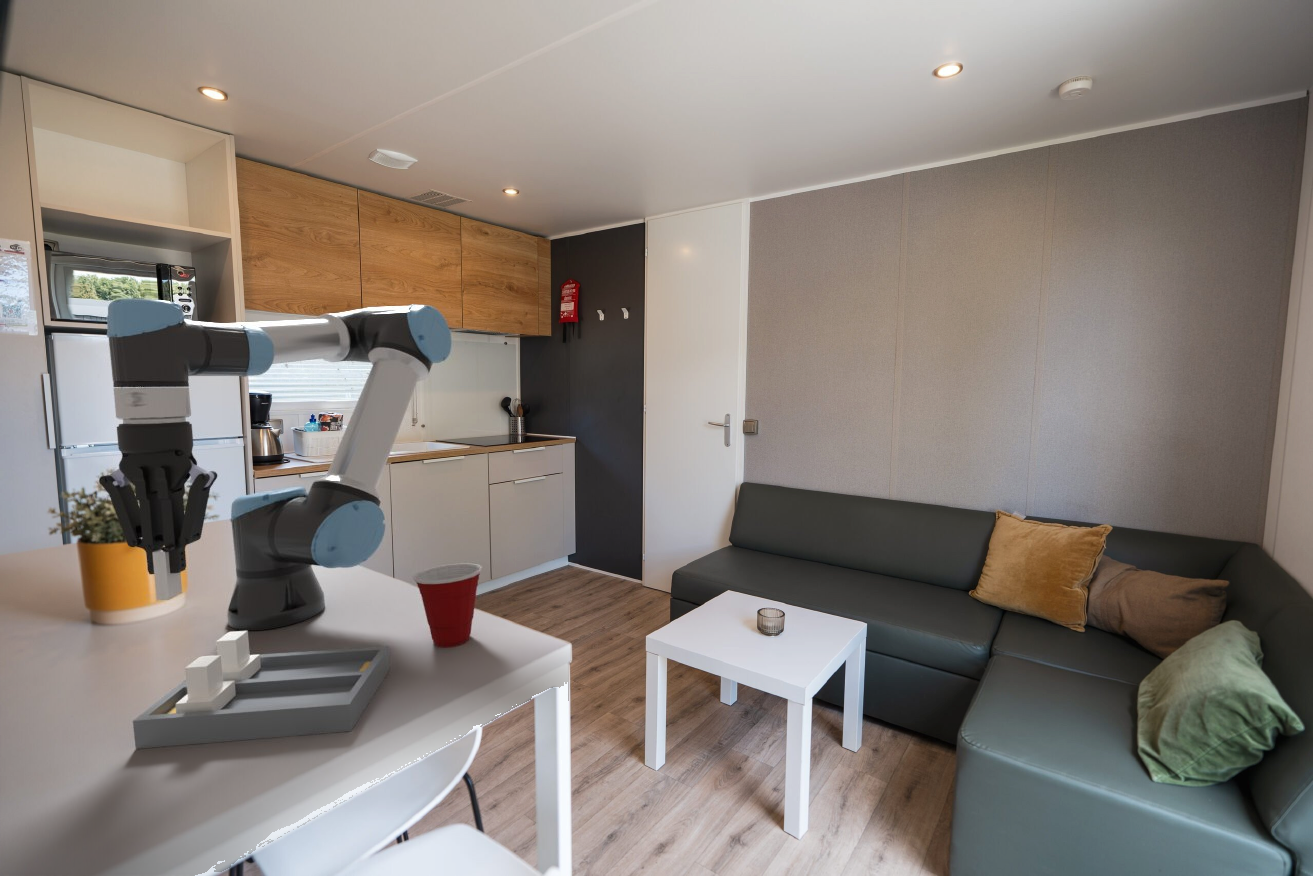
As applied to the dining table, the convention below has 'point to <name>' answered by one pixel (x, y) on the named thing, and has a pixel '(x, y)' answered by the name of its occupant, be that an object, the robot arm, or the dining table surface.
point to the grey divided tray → (275, 700)
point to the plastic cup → (449, 601)
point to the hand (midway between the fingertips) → (169, 596)
